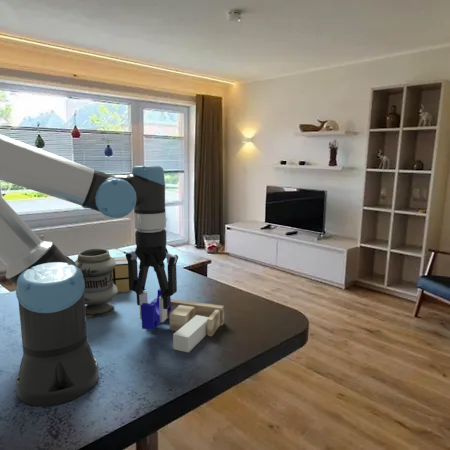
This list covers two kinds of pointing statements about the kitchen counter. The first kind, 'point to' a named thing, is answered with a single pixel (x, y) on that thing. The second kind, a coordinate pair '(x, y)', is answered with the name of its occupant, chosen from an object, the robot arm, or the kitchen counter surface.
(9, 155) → the robot arm
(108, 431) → the kitchen counter surface
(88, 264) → the apothecary jar
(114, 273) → the puzzle cube
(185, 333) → the white rectangular bar
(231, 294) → the kitchen counter surface
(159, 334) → the kitchen counter surface
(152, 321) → the blue stepped long piece
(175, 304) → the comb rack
